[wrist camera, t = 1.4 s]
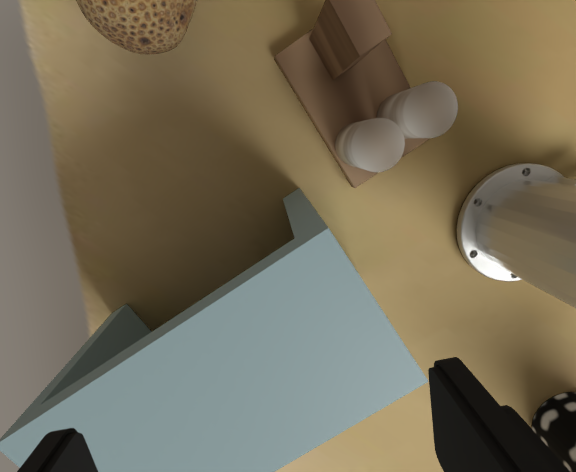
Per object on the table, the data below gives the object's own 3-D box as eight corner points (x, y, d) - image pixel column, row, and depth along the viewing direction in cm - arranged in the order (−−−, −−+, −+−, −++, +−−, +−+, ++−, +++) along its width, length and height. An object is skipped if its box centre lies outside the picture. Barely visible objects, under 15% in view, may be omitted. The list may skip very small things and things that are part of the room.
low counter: (299, 187, 36) (328, 228, 19) (359, 279, 39) (428, 381, 22) (111, 313, 38) (-6, 445, 21) (181, 390, 41) (126, 558, 24)
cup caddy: (357, 0, 32) (403, -71, 21) (428, 135, 35) (497, 133, 25) (274, 59, 33) (278, 20, 22) (351, 186, 36) (387, 205, 25)
